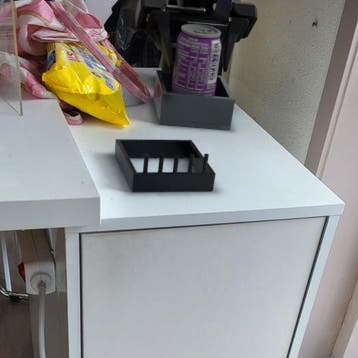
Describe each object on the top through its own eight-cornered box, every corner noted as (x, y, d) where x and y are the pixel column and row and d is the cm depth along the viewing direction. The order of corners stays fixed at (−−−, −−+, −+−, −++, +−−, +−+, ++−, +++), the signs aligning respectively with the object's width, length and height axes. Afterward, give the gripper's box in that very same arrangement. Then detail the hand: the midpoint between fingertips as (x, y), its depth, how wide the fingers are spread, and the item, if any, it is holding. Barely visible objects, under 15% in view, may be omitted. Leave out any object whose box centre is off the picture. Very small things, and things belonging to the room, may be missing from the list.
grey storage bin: (153, 99, 112) (155, 69, 109) (218, 105, 114) (223, 76, 110) (159, 124, 103) (162, 93, 100) (230, 130, 105) (235, 99, 102)
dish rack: (114, 156, 92) (116, 120, 89) (189, 156, 95) (193, 122, 92) (132, 192, 84) (134, 154, 81) (213, 191, 87) (218, 155, 84)
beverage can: (208, 103, 111) (219, 25, 103) (215, 118, 106) (227, 38, 98) (167, 99, 110) (175, 21, 102) (172, 115, 105) (181, 33, 97)
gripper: (144, -72, 93) (149, 34, 93) (267, -58, 97) (272, 44, 97) (133, -21, 104) (137, 74, 103) (244, -10, 108) (248, 82, 107)
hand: (198, 68), depth 102 cm, fingers open, 9 cm apart
